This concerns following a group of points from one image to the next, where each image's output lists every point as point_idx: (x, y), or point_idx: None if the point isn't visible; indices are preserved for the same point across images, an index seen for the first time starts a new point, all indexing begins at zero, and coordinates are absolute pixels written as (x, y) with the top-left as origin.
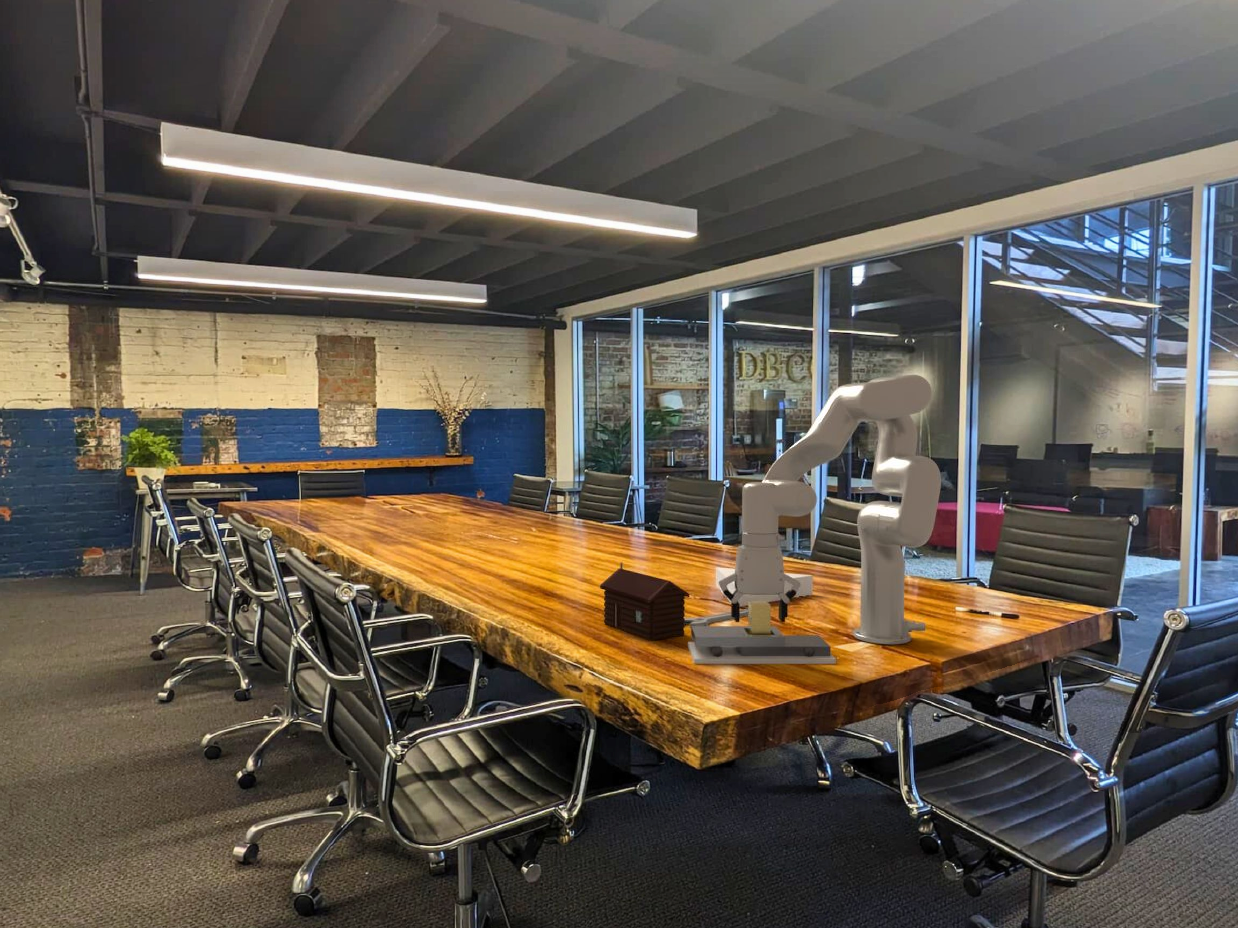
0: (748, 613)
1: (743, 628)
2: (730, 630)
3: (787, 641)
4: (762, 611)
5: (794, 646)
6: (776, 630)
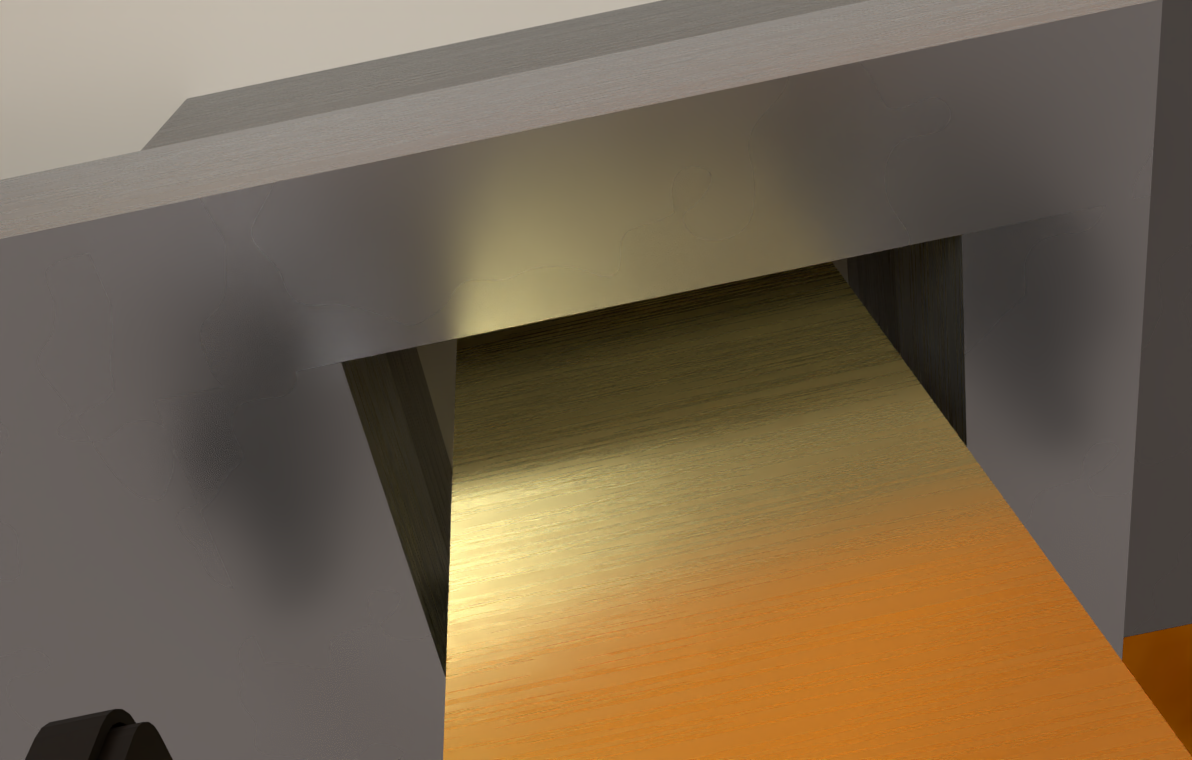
0: (453, 703)
1: (340, 394)
2: (81, 604)
3: (1164, 381)
4: None
5: (1187, 622)
6: (1075, 398)
